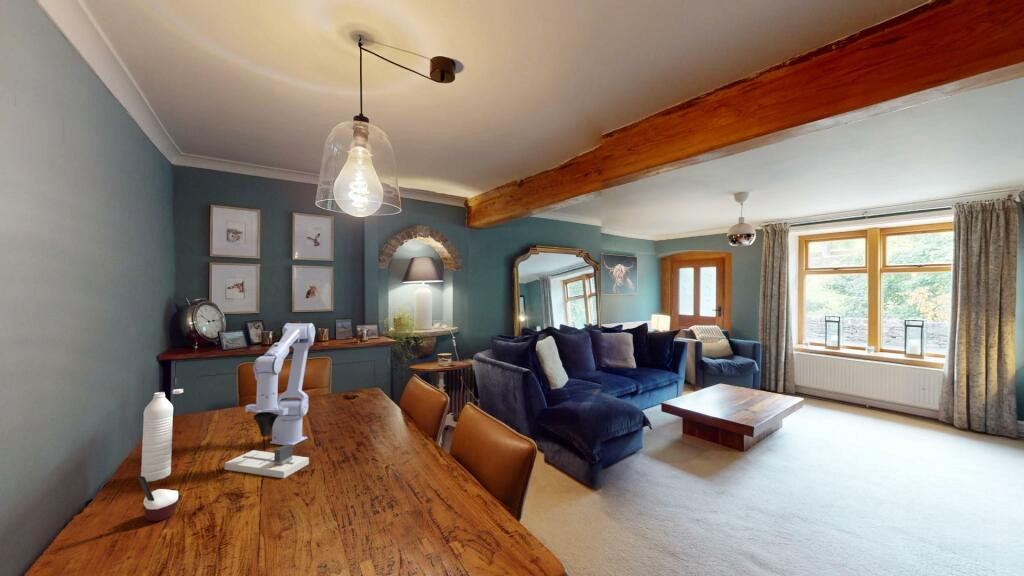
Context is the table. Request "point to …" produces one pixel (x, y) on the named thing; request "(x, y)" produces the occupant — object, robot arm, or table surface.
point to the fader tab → (283, 454)
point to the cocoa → (159, 502)
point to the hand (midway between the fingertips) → (265, 435)
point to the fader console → (265, 464)
